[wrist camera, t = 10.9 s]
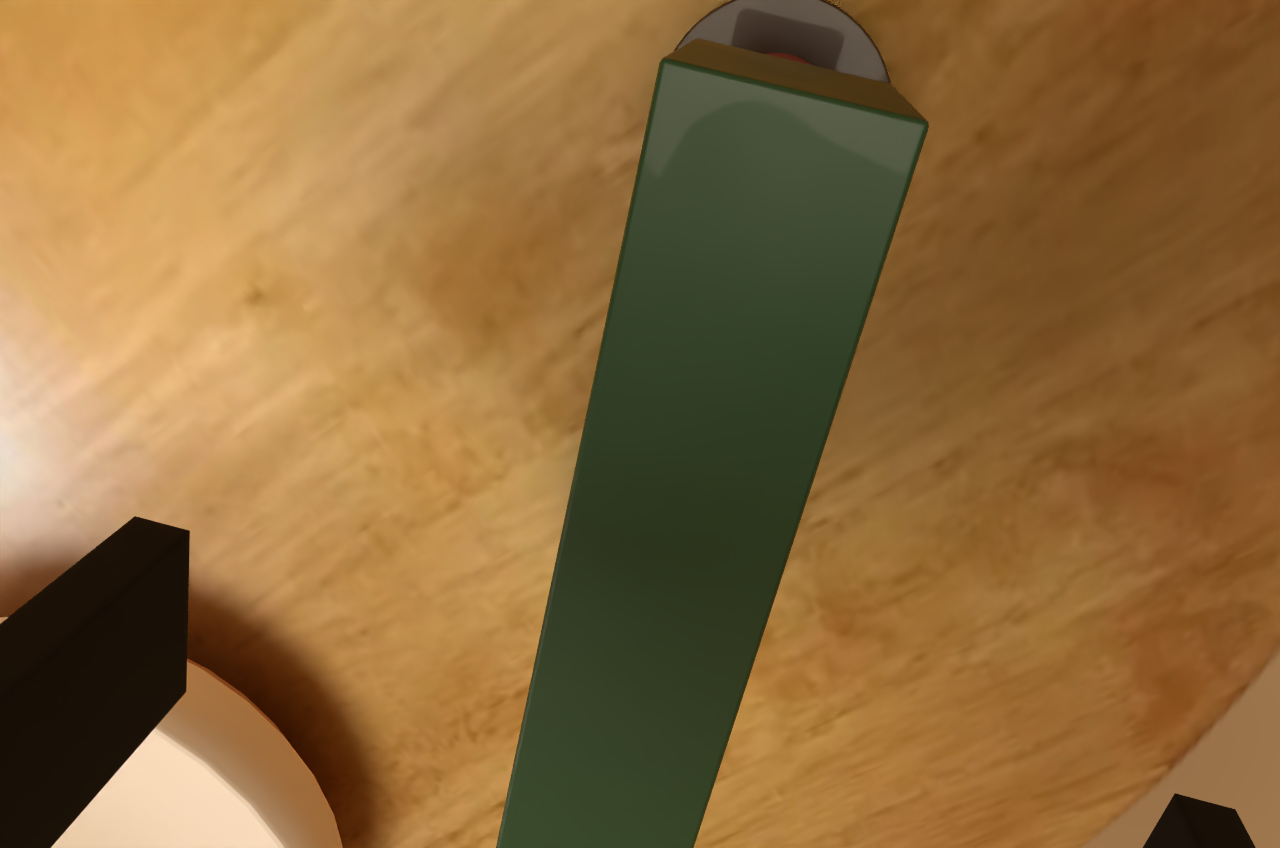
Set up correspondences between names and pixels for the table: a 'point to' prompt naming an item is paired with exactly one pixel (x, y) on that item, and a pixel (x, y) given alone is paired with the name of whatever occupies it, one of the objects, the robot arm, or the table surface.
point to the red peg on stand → (794, 34)
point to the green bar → (703, 432)
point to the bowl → (209, 782)
